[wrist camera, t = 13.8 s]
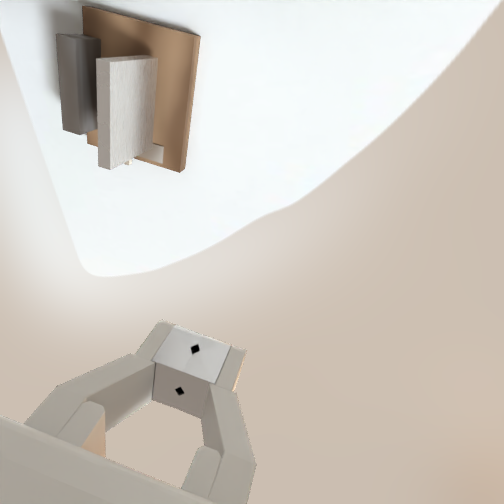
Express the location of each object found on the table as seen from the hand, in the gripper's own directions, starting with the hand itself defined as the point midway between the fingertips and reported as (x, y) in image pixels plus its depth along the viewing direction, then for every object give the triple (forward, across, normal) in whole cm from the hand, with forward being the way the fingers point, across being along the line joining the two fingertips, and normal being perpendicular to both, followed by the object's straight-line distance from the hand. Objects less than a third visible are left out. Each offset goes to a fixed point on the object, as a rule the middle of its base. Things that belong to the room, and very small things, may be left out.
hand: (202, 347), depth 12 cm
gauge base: (+31, +19, +1) cm, 37 cm away
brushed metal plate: (+29, +19, +2) cm, 35 cm away
